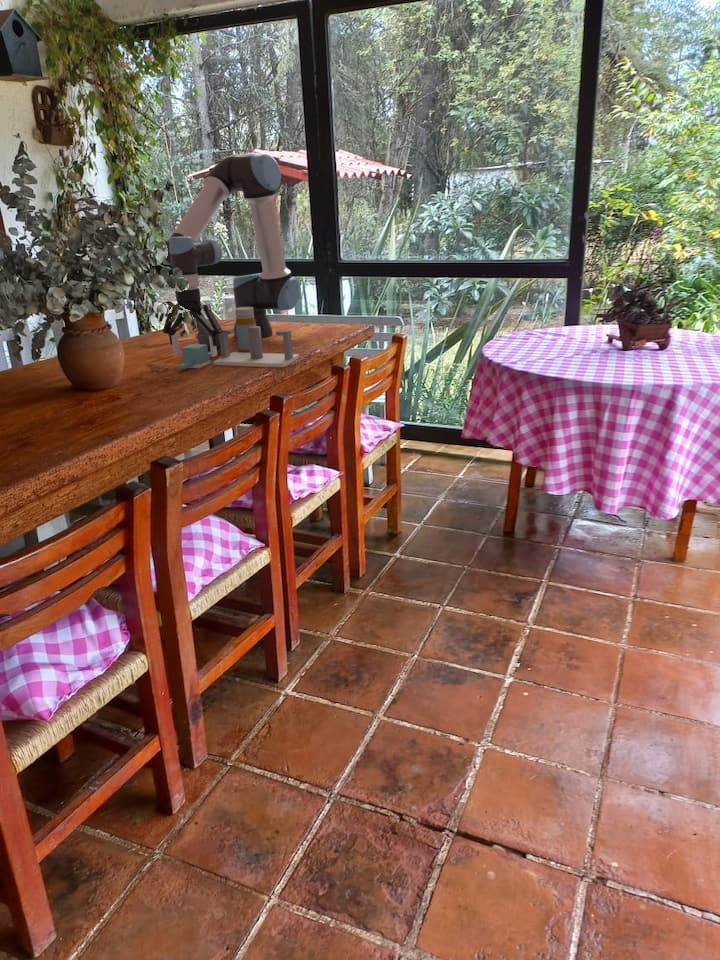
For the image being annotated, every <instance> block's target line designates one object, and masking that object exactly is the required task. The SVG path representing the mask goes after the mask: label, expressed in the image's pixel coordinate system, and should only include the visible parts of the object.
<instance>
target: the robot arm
mask: <svg viewBox="0 0 720 960" xmlns="http://www.w3.org/2000/svg"><path fill="white" fill-rule="evenodd" d="M281 180H282V173H281V168H280V166H279V164H278V161H277V160H276V159H275V158H274V156H272V155H271V154H269V153H266V152H262V153H261V152H254V153H245V154H244V153H241V154H231V155H229V156H225V158H223V159H222V160H220V161H219V162H217V164H215V165H214V166H213V168H212V169H211V170H210V171H209V172H208V174H207V175H206V177H205V178H204V180H203V187H202V188H201V190H200V192H198V194H197V195H196V197H195V199H194V201H193V202H192V204H190V207H189V208H188V209H187V211H186V212H185V214H184V216H183V217H182V218H181V220H180V222H179V223H178V225H177V226H176V227H175V229H174V231H173V233H171V235H170V237H169V238H168V240H164V241H165V243H166V245H167V248H168V256H167V258H165V259H164V261H163V265H168V266H171V269H172V268H175V267H178V268H180V269H181V270H182V273H183V276H184V277H185V278H186V279H187V281H188V283H189V288H188V289H187V290H184V291H182V292H177V291H176V290H175V291H174V293H175V298H176V299H175V300H176V303H174V304H176V305H180V306H182V307H184V308H185V309H188V310H190V311H191V313H192V315H193V317H194V319H193V320H195V319H197V320H198V321H199V322H200V323H201V324H202V325H203V326H204V328H205V329H206V330H207V331H208V332H209V333H210V334H211V336H209V342H210V350H211V357H210V358H212V357H213V358H214V357H216V356H218V353H217V348H216V346H217V345H218V337H217V336H218V334H220V333H222V332H223V331H222V329H223V328H222V327H221V325H220V323H219V322H218V321H219V320H217V318H216V316H215V314H214V313H213V311H212V307H211V303H206V304H202V303H201V290H200V288H199V286H200V282H199V274H198V267H204V266H213V265H215V264H219V263H220V261H221V260H222V258H223V249H222V246H221V245H220V243H219V242H217V241H216V240H213V239H212V240H211V239H205V240H198V239H199V238H200V237H201V235H202V233H203V232H204V230H205V228H206V227H207V225H208V224H209V222H210V221H211V219H212V218H213V217H214V215H215V213H216V211H217V210H218V208H219V206H220V205H221V204H222V202H223V201H226V200H227V199H228V198H229V197H230V195H232V194H233V193H235V192H242V194H243V198H244V200H246V202H248V203H249V207H250V208H249V209H250V211H251V212H250V213H251V217H252V221H253V222H252V223H253V229H254V232H255V238H256V243H257V248H258V252H259V258H260V262H261V268H262V272H259V273H252V274H246V275H240V276H236V277H234V279H233V281H232V283H233V285H232V286H233V288H232V291H233V297H234V298H233V299H234V305H235V309H236V308H239V307H253V310H254V318H255V321H256V326H260V329H261V339H262V338H267V337H271V336H273V334H274V333H273V328H272V325H271V322H270V320H269V317H268V316H267V310H274V311H275V310H276V311H290V310H292V309H294V308H295V307H296V306H297V305H298V303H299V300H300V297H301V285H300V282H299V281H298V279H297V278H295V277H293V276H292V271H291V270H290V269H289V268H288V267H287V265H286V261H285V255H284V250H283V248H284V247H283V244H282V237H281V232H280V227H279V222H278V215H277V211H276V210H277V209H276V204H275V197H276V196H277V194H278V190H277V189H279V188H280V186H281ZM167 307H168V311H169V310H170V309H171V307H170V306H169V304H168V306H167ZM202 311H203V312H204V313H205V314H204V313H203V312H202ZM171 317H172V313H169V314H168V313H167V316H166V319H165V322H164V325H163V329H162V333H163V334H167V335H168V337H169V342H170V345H172V352H173V356H176V357H177V356H178V355H181V350H180V342H179V334H178V333H177V331H178V329H175V328H176V327H177V326H179V325H180V326H181V324H182V322H183V321H184V319H183V317H182V313H180V312H179V313H178V315H177V316H176V319H175V320H174V321H173V322H168V320H169V319H171ZM235 322H236V320H235ZM180 326H179V327H180ZM233 329H234V333H233V337H234V338H236V339H237V333H236V323H234V328H233Z"/></svg>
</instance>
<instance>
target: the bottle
mask: <svg viewBox="0 0 720 960" xmlns="http://www.w3.org/2000/svg"><path fill="white" fill-rule="evenodd" d="M235 321H236V322H235V323H236V333H237V338H236V342H237V350H238V351H237V352H241V353H250V344H249V334H248V327H251V326H256V321H255V318H254V310H253V307H239V308H236V307H235ZM235 323H234V324H235Z"/></svg>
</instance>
